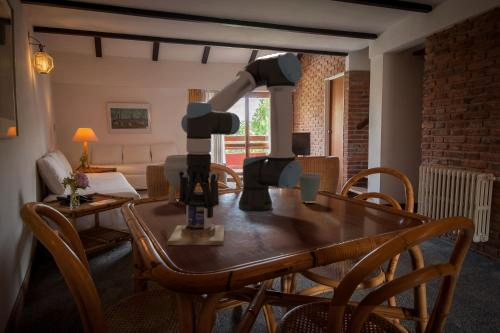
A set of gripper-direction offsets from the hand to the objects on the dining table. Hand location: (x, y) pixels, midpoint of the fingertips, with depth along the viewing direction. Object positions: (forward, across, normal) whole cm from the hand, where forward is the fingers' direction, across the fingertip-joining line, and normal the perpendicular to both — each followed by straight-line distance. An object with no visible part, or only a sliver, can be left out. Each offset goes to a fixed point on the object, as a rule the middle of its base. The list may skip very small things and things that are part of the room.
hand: (198, 226), depth 99 cm
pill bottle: (+1, 0, 0) cm, 1 cm away
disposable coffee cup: (+3, -16, -68) cm, 70 cm away
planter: (+3, +39, -39) cm, 55 cm away
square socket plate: (+3, 0, 0) cm, 3 cm away
